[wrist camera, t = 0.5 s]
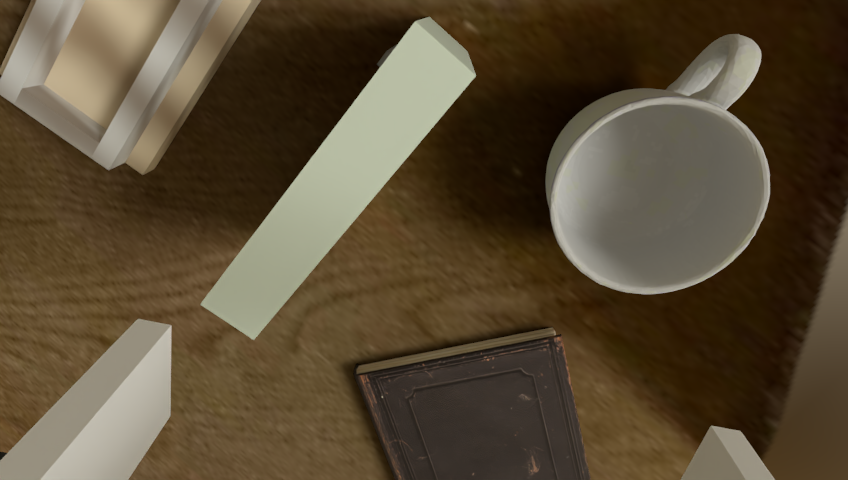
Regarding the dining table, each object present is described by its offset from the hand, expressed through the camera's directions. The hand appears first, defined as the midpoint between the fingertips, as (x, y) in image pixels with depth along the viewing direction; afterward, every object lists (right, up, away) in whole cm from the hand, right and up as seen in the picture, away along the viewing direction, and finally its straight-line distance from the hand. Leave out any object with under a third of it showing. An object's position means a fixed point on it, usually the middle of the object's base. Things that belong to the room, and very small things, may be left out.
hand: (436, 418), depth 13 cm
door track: (-15, +20, +18) cm, 31 cm away
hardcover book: (+5, -14, +33) cm, 36 cm away
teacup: (+13, +11, +21) cm, 27 cm away
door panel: (-4, +11, +21) cm, 25 cm away
